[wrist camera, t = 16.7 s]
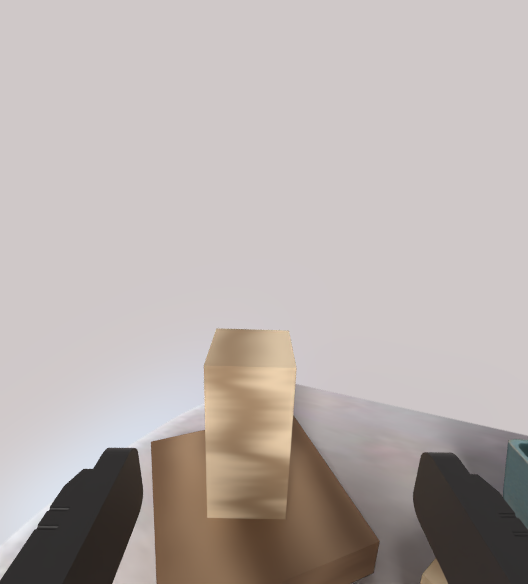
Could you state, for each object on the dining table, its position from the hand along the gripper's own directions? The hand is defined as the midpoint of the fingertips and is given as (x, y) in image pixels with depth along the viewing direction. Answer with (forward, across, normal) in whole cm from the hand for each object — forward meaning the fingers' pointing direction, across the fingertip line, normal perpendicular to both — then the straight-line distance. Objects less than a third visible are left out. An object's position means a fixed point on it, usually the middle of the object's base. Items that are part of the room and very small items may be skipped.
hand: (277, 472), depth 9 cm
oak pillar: (+12, +2, +14) cm, 19 cm away
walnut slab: (+12, +2, +17) cm, 21 cm away
